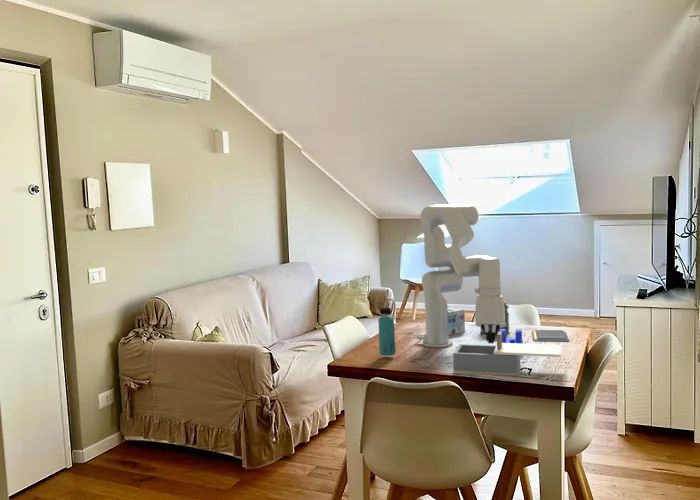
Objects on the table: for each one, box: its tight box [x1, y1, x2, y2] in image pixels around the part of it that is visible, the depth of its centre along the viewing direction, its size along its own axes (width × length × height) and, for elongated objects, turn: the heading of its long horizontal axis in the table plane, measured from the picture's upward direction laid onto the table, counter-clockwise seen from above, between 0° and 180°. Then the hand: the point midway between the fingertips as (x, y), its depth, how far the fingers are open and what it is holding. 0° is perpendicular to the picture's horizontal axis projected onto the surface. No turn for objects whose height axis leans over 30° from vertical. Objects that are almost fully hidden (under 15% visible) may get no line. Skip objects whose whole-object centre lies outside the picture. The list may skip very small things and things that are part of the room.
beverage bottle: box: [377, 307, 396, 357], centre depth 238 cm, size 6×7×20 cm
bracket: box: [499, 328, 524, 344], centre depth 246 cm, size 18×8×9 cm, turn 161°
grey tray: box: [452, 343, 521, 377], centre depth 217 cm, size 22×14×7 cm, turn 70°
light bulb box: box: [448, 307, 466, 336], centre depth 279 cm, size 11×7×11 cm, turn 119°
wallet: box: [531, 329, 570, 343], centre depth 263 cm, size 20×2×15 cm
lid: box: [494, 332, 562, 358], centre depth 212 cm, size 22×14×6 cm, turn 70°
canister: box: [479, 298, 510, 336], centre depth 276 cm, size 13×13×18 cm
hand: (491, 342), depth 216 cm, fingers closed
